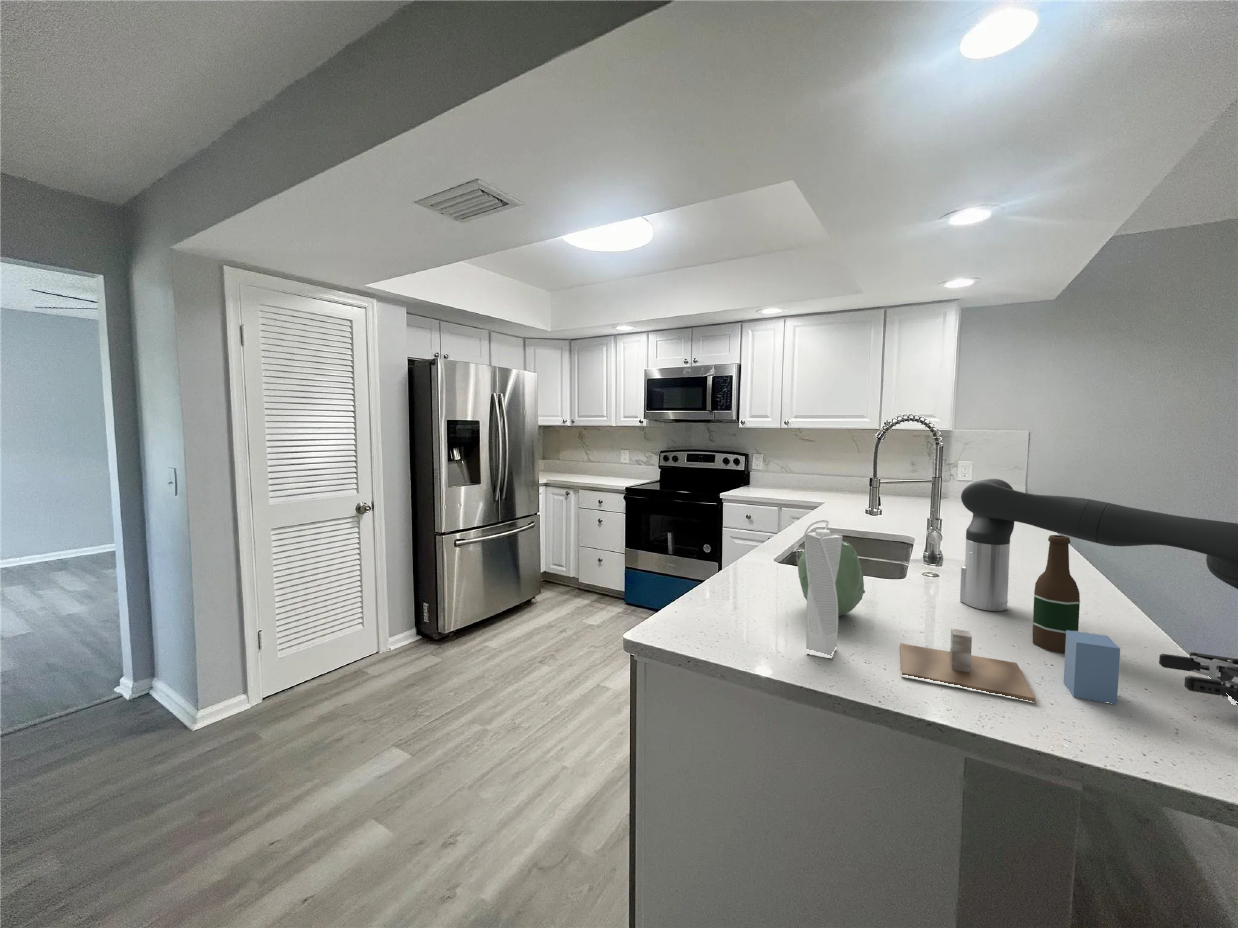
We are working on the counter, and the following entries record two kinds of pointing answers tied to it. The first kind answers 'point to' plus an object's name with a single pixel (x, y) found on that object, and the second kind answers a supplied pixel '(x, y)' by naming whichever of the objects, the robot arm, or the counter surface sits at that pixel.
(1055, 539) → the beer bottle
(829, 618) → the skyscraper
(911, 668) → the post stand
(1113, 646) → the pale blue tall block
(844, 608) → the cabbage
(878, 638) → the counter surface
